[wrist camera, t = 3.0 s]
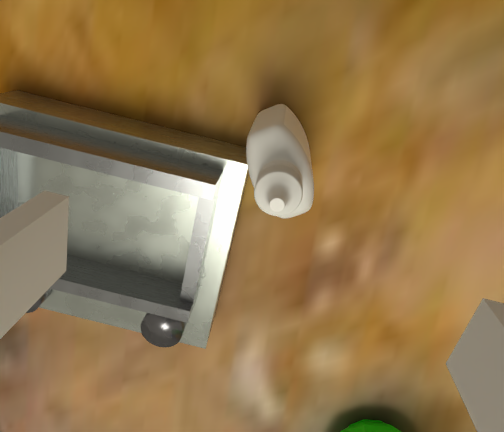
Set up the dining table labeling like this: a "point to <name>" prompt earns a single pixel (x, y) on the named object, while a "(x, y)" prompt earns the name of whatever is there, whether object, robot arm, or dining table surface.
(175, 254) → the grey rectangular open box
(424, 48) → the dining table surface
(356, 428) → the plastic bottle
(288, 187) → the eye dropper bottle
